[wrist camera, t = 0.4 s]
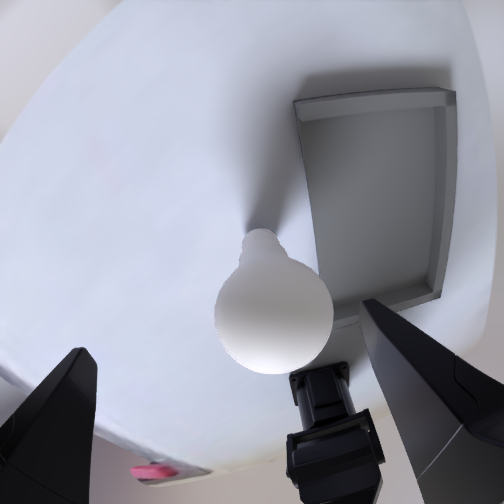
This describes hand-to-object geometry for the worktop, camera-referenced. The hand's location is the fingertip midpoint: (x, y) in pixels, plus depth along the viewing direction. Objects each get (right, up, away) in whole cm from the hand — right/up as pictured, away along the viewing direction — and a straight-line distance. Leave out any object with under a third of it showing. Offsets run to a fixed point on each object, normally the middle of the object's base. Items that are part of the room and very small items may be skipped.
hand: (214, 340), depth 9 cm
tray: (+11, +6, +13) cm, 18 cm away
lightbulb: (+2, +4, +14) cm, 15 cm away
